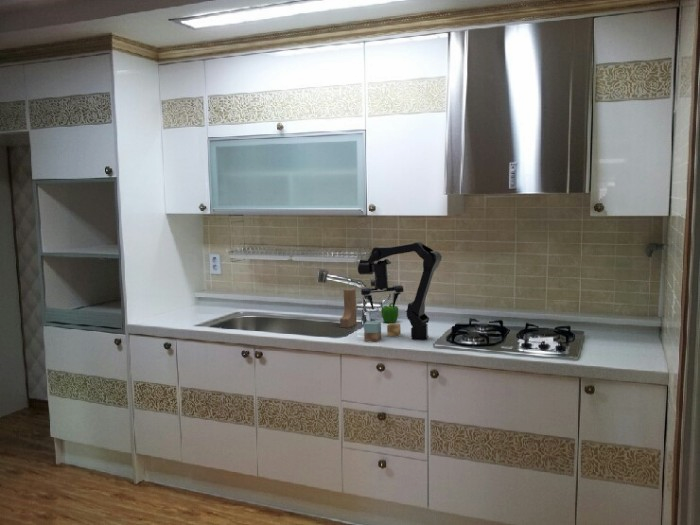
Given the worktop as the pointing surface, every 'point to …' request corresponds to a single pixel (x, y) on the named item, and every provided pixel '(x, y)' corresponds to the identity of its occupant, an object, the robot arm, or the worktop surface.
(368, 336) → the base block
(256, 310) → the worktop surface
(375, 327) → the top block
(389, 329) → the oak cube
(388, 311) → the bell pepper
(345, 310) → the wooden block
